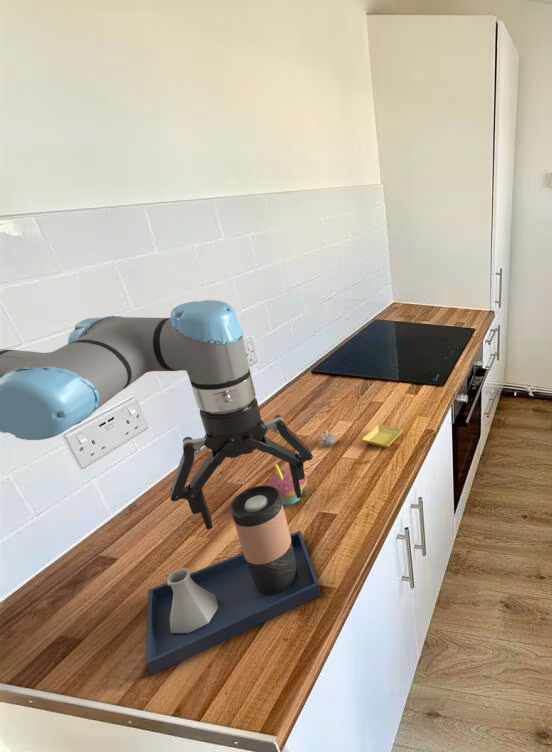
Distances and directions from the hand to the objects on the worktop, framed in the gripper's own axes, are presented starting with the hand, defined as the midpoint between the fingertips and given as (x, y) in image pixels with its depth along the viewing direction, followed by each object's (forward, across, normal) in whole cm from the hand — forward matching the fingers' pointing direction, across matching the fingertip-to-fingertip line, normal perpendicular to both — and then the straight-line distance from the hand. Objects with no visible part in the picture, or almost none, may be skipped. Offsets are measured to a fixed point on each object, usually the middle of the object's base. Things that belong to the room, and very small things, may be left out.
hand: (255, 508), depth 75 cm
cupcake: (+19, +7, +22) cm, 30 cm away
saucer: (+19, +34, +33) cm, 51 cm away
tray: (+19, -6, 0) cm, 20 cm away
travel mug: (+18, 0, 0) cm, 18 cm away
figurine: (+19, +20, +39) cm, 48 cm away
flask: (+18, -13, 0) cm, 22 cm away
